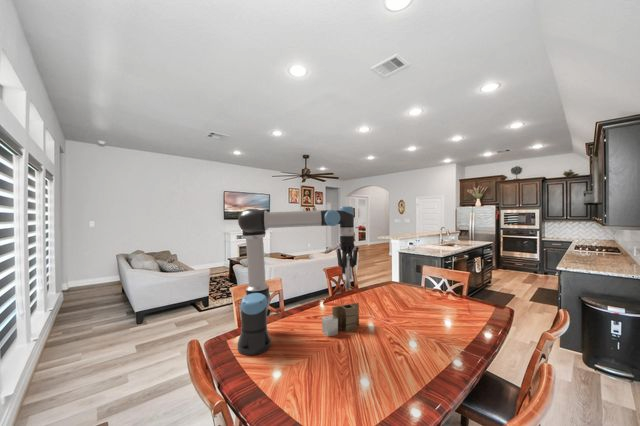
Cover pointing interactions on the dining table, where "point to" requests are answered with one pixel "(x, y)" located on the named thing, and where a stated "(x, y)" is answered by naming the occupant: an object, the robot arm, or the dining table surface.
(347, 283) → the pin
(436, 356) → the dining table surface
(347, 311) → the brown holed block
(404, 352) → the dining table surface
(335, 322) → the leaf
